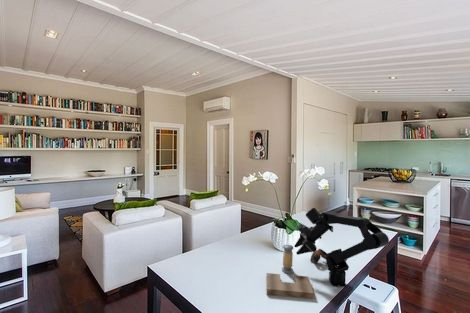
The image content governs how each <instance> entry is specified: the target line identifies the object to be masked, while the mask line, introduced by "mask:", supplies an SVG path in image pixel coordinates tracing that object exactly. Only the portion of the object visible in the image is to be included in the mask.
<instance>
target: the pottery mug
mask: <svg viewBox="0 0 470 313" xmlns="http://www.w3.org/2000/svg"><path fill="white" fill-rule="evenodd" d="M327 253H328V252H326V251H325V250H323V249H321V248H318V249H316V251H315V252H311V256H310V259H309V260H310V262H311V263H312V264H313V263H314V264H318V263H319V261H320V260H321V258H323V259H325V260H326V256H327V255H328V254H327ZM325 265H327V263H326V262H325Z"/></svg>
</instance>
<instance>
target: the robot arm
mask: <svg viewBox="0 0 470 313" xmlns="http://www.w3.org/2000/svg"><path fill="white" fill-rule="evenodd" d="M305 217H306V218H307V219H308V220H309V221H310V223H311V224H313V225H314V226H306V225H305V224H304V223H301V222H300V223H298V226H297V232H299V238H298V239H297V241H296V242H295V244H294V248H299V247H300V248H299V249H298V250H297V251H296V253H295V254H296V255H303V254H308V253H313V252H315V251H316V250H318V249H317V245H316V241H317V240H319V239H320V240H321V239H322V238H323V237H322V236H323V235H324V234H326V233H327V232H328V231H330V232H331V233H334V226H333V225H335V224H338V225H343V226H350V227H355V228H358V229H359V230H360V233H361V235H362V238H363V239H362V241H360V242H358V243H356V244H354V245H352V246H350V247H348V248H346V249H344V250H342V248H338V249H334V250H332V251H330V252H326V253H327V254H328V255H327V256H326V259H325V264H326V263H327V264H326V266H327V270H328V280H329V282H330V285H331V286H333V287H347V283H346V274H347V273H346V272H347V271H348V270H349V268H350V266H349V265H348V263H347V261H348V260H349V259H350V258H353V257H355V256H358V255H360V254H362V253H364V252H367V251H370V250H376V249H380V248H383V247H386V246H388V245H389V243H390V238H389V236H388V235H387V234H386V233H385V232H384V231H383V230H382V229H381V228H380V227H378V226H377V225H375V224H374V223H372V222H371V220H370V219H368V218H366V217H358V216H351V215H350V216H349V215H344V214H343V215H342V214H340V213H339V212H336V211H332V210H330V211H324V212H321V213H320V212H319V211H318V210H317V209H316V208H315V207H314V208H313V207H312V208H311V209H309V210H308V211H307V212H306V213H305Z"/></svg>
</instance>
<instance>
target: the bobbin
mask: <svg viewBox="0 0 470 313" xmlns="http://www.w3.org/2000/svg"><path fill="white" fill-rule="evenodd" d="M282 249H283V256H282V268H281V271H282V272H283V274H284V273H285V274H293V272H294V269H293V257H294V256H293V253H294V252H293V250H294V246H293V245H292V244H283V245H282Z"/></svg>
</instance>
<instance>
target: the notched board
mask: <svg viewBox="0 0 470 313" xmlns="http://www.w3.org/2000/svg"><path fill="white" fill-rule="evenodd" d="M293 278H294V279H293V280H294V282H289V281H287V282H285V281H281V274H279V273H268V272H266V279H265V280H266V282H265V283H266V295H268V296H276V297H277V296H278V297H288V298H289V297H290V298H300V299H301V298H302V299H311V300H314V298H315V293H314V290H313V287H312V283H311V281H310V278H309V276H306V275H295V274H294V277H293Z"/></svg>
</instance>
